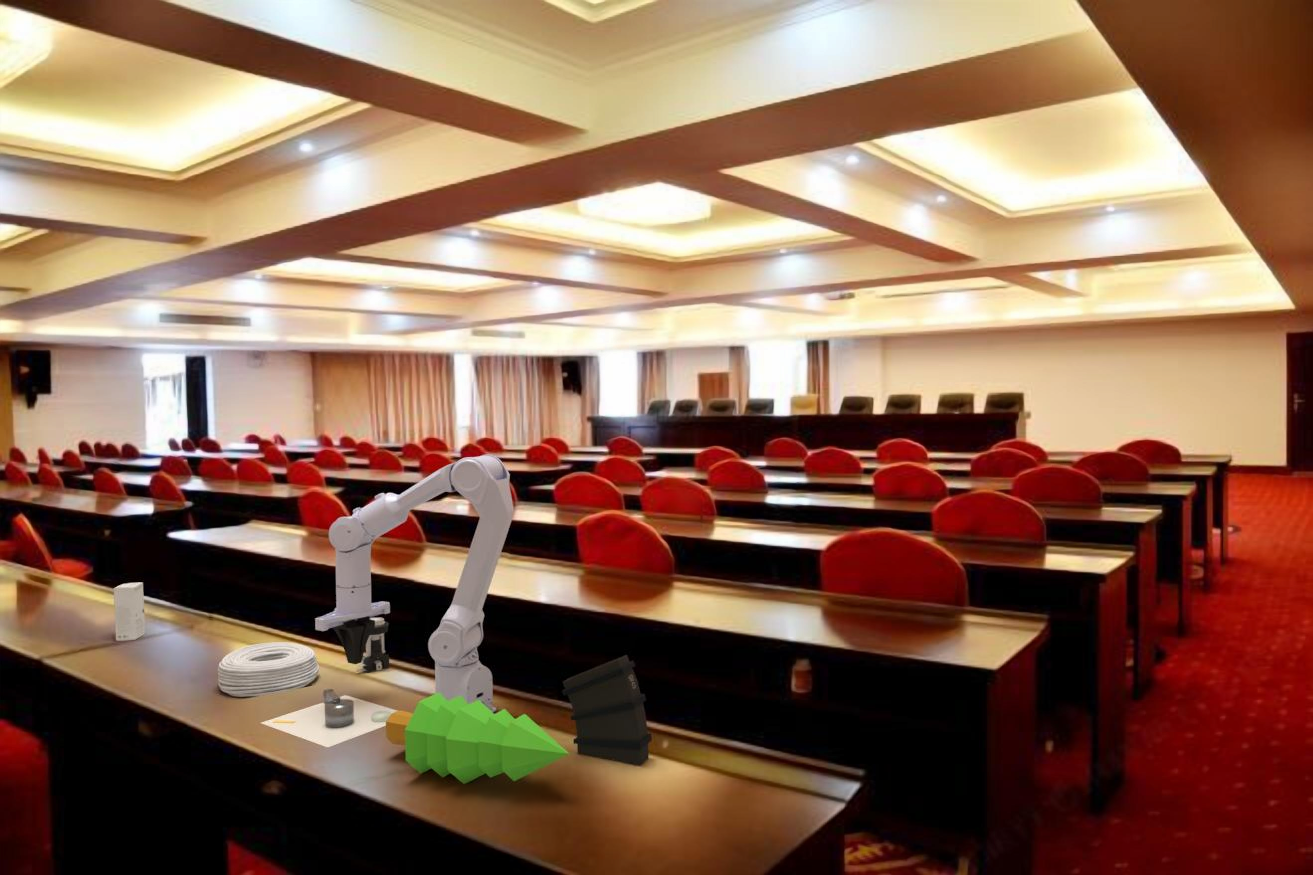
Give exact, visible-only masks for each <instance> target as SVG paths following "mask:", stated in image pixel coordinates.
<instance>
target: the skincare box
mask: <svg viewBox="0 0 1313 875" xmlns="http://www.w3.org/2000/svg"><path fill="white" fill-rule="evenodd" d="M144 598H145V597H144V582H127V583H122V584H120V585H117V586H116V587H114V588H113V603H114V626H115V630H114V631H115V640H116V641H118V642H122V641H123V642H124V641H136V640H137V639H139V638H142V636H144V635H145V634H146V618H145V599H144Z"/></svg>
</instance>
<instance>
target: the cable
mask: <svg viewBox="0 0 1313 875" xmlns="http://www.w3.org/2000/svg"><path fill="white" fill-rule="evenodd" d="M317 659H318V658H317V656H316V653H315V651H314V650H313V649H312V648H311V647H308V646H306V645H302V644H300V643H296V642H290V641H289V642H286V641H283V642H282V641H279V642H278V641H277V642H263V643H256V644H250V645H247V646H243V647H240V648H237V649H235V650H233V651H231V652H229V653H228V654H226V655H225V656H224V657H223V658H222V660H221V661H220V662H219V664H218V667H217V679H218V680H217V681H218V683H217V684H218V685H217V686H219V689H220V690H221V691H222V692H223V693H226V694H228V695H230V696H232V697H237V698H238V697H240V698H241V697H242V698H243V697H261V696H266V695H271V694H277V693H283V692H288V691H293V690H298V689H299V690H300V689H302V688H304V687H305V686H307V685H309V684H310V683H312V682H313V681H314V680H315V679H316V678H317V676H318V674H319V671H320V670H319V669H320V666H319V663H318V661H317Z"/></svg>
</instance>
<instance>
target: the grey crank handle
mask: <svg viewBox="0 0 1313 875" xmlns="http://www.w3.org/2000/svg"><path fill="white" fill-rule="evenodd" d="M322 692H323V693H322V694H323V695H322V696H323V697H322V698H323V700H322V701H323V702H322V703H324V704H325V725H326V726H328V727H342V726H346V725H349V724H351V723H353V722H354V702H353V701H352V700H349V699H340V697H341V696H339V695H338V694H337V693H336V692H335V691H334V689H331V688H327V689H324V690H323V691H322Z"/></svg>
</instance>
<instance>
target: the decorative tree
mask: <svg viewBox="0 0 1313 875" xmlns="http://www.w3.org/2000/svg"><path fill="white" fill-rule="evenodd" d="M385 730H386V733H385V734H386V738H387V740H388V741H389V742H390V743H391V744H392V745H401V746H402V745H403V746H405V748H404V750H405V751H404V752H405V761H406V762H407V763H408V764H409V765H410V766H411V767H413V768H414V769H415V770H416V771H417V772H418V773H420V774H423V773H425V772H427V771H429V770H433V771H434V772H435V773H436V774H438V775H439V776H440V777H441V778H442V779H443V778H445V777H446V776H448V775H450V774H451V775H452V776H454V777H455V778H456V779H457V780H458V781H459V782H461V783H462V784H463V785H466V784H467V783H469V782H471V781H473V780H476V779H477V778H479V777H481V776H483V775H485V774H486V775H487V776H488V777H489V778H493V777H495V776H498V775H500V774H505V775H507V776H508V778H510V779H511V780H512V781H513V782H515V781H518V780H520V779H522V778H524V777H525V776H528V775H530V774H532V773H534V772H535V771H538V770H540V769H542V768H543V767H546V766H548V765H551V764H552V763H553V762H556V761H558V760H560V759H562V758H564V757H566V756H567V755H570V753H569V752H568V750H566V749H565V748H564V747H562V746H561V745H560V744H559V743H558V741H556V740H555V739H554V738H553V737H552V736H550V734H548V733H547V732H546V731H545V730H543V729H542V727H541V726H539V725H538V724H537V723H536V722H535V721H534V720H532V719H531V718H530V716H528V715H527V714H525V713H524V714H522V715H520V716H518V717H517V718H514V716H512V715H511V713H510V712H509V711H507V709H505V708H504V709H501V710H500V711H498V712H496V713H495V712H492V711H490V710H489V709H488V708H487V707H486V706H485V705H484V704H483V703H482V702H481V701H479V700H477V701H475V702H473V703H471V704H468V703H467V702H466V701H465V700H464V699H463V698H462V697H461V696H458V697H456V698H454V699H451V700H449V701H447V700H446V699H445V698H444V697H443V696H442V695H441V694H440V693H435V694H433V695H430V696H428V697H426V698H423V699H422V700H419V702H418V703H417V705H416V707H415V709H414V711H413V712H411V711H410V712H409V711H406V710H401V709H400V710H397V711H396V712H394V713H392V714H391V715H390V717H389V718H388V719H387V721H386V726H385Z"/></svg>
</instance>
